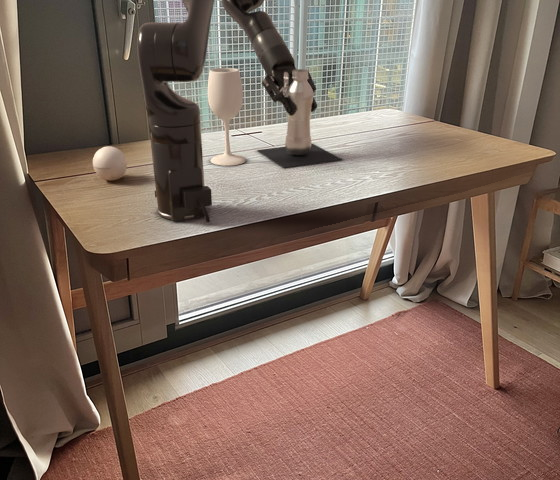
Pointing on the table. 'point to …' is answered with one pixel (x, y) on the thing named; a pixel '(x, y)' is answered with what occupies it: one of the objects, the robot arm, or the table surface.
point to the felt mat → (299, 157)
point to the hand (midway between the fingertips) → (304, 111)
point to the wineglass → (225, 106)
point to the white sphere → (109, 163)
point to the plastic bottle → (299, 114)
